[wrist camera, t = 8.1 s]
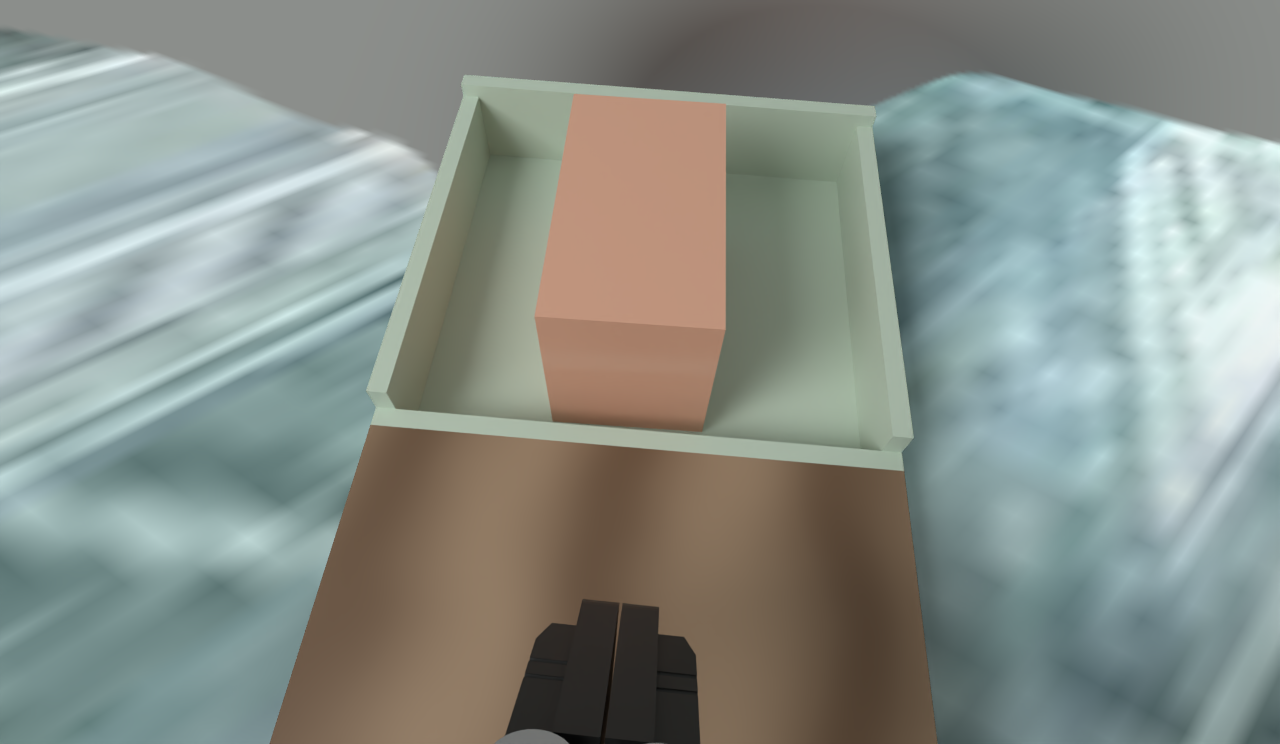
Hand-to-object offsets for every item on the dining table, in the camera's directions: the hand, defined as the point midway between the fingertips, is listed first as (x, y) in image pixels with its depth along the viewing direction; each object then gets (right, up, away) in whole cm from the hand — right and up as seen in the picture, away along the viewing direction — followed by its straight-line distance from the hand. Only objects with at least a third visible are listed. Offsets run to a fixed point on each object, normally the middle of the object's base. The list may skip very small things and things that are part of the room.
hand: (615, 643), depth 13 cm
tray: (+1, +8, +13) cm, 15 cm away
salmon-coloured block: (0, +5, +7) cm, 9 cm away
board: (0, -3, +6) cm, 7 cm away
